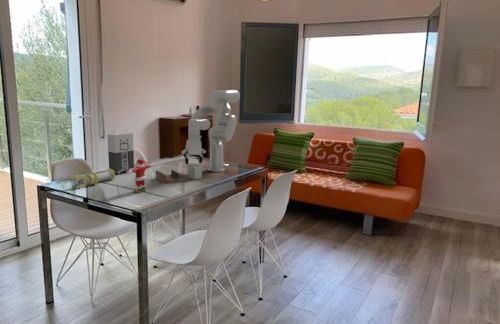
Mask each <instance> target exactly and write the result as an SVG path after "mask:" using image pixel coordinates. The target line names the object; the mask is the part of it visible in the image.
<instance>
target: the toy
mask: <svg viewBox="0 0 500 324" xmlns="http://www.w3.org/2000/svg"><path fill="white" fill-rule="evenodd" d="M134 149H135V148H134V133H133V132H128V130H127V129H125V130H124V132H117V133H116V131H115V130H113V132H112V133H107V150H108V152H107V155H108V169H112V170H113V171H114V173H115V174H117V175H120V174H121V172H122V171H123V172H128V171H129V170H131V169H134V168H135V156H134V155H135V154H134V153H135V152H134Z"/></svg>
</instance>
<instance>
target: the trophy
mask: <svg viewBox="0 0 500 324" xmlns="http://www.w3.org/2000/svg"><path fill="white" fill-rule="evenodd" d="M69 177H70V179H71V180H73V184H74V185H72V186H71V188H75V187H76V189H79V188H82V187H85V188H86V187H88V186H92V184H96V185H97V184H98V183H99V181H104V180H109V181H113V180H115V178H116V173H114V171H113V170H112V169H109V168H107V169H106V170H105V171H103V172H100V173H96V172H93V171H90V172H89V173H85V174H74V175H70V176H69Z"/></svg>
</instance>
